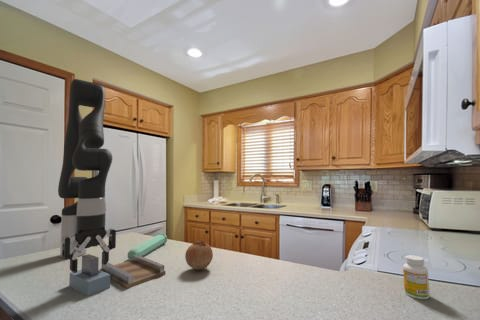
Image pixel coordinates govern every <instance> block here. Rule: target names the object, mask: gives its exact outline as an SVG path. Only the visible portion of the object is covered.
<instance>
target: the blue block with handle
mask: <svg viewBox="0 0 480 320" xmlns="http://www.w3.org/2000/svg"><path fill="white" fill-rule="evenodd" d="M99 262H100V261H99V257H98V256H97V255H94V254H91V253H87V254H84V255H81V269H79V270H78V269H77V272H76V273H73V272H72V271H71V272H69V284H68V285H69V287H70V288H72V289H73V290H74V289H75V290H77V291H78V292H79V293H82V294H83V295H84V296H87V297H89V296H92V295H94V294H95V295H96V294H98V293H100V292H102V291H103V292H104V291H106V290H109V289H111V278H110V274H108V273H105V272H103V271H100V269H99Z"/></svg>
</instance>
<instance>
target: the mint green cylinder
mask: <svg viewBox="0 0 480 320" xmlns="http://www.w3.org/2000/svg"><path fill="white" fill-rule="evenodd" d="M167 242H168V235H166V234H165V233H163V232H159V233H158V234H157V235H155V236H154V237H152V238H150V239H147V240H146V241H144V242H142V243H140V244H137V245H136V246H134V247H132V248H131V249H129V251H128V252H127V259H128V261H130V260H131V255H133V254H137V255H139V256H142V257H144V256H146V255H148V254H149V253H151V252H153V251H155V249H158V248H159V247H161V246H162V244H164V245H165V244H166V243H167Z"/></svg>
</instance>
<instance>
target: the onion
mask: <svg viewBox="0 0 480 320" xmlns="http://www.w3.org/2000/svg"><path fill="white" fill-rule="evenodd" d="M185 251H186V252H185V253H184V254H185V255H184V256H185V257H184V258H185V262H186V264H187V266H189V267H190V268H192V269H193V270H198V271H200V270H202V271H203V270H205V269H207V268H208V266H210V264H211V262H212V260H213V256H214V253H213V249H212V247H211V245H210V244H208V243H206V242H205V241H202V240H197V241H196V242H194V243H192V244H191V245H190V246H188V248H187V249H186V250H185Z"/></svg>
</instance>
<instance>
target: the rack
mask: <svg viewBox="0 0 480 320" xmlns="http://www.w3.org/2000/svg"><path fill="white" fill-rule="evenodd" d="M99 270H100V271H103V272H105V273H108V274H110V280H113V281H114V282H116V283H118V284H119V285H121V286H123V287H124V288H126V289H129V288H131V287H134V286H136V285H139V284H142V283H145V282H147V281H151V280H153V279H155V278H160V277H162V276H165V275H167V274H166V270H165V265H164V264H162V263H159V262H157V261H154V260H151V259H149V258H147V257H144V256H143V257H142V256H139V255H137V254H133V255H131V260H127V261H124V262H121V263H117V264H112V263H111V262H109V261H108V262H107V264H106V265H103V264H102V263H101V268H100V269H99Z"/></svg>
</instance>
